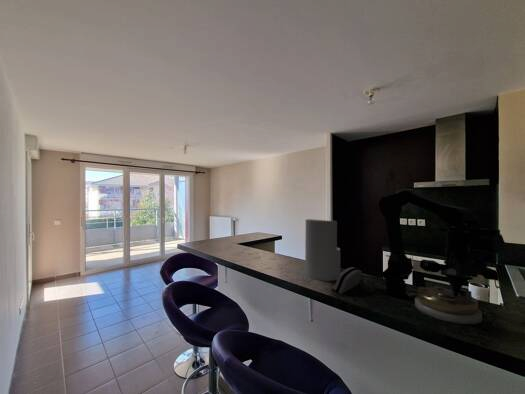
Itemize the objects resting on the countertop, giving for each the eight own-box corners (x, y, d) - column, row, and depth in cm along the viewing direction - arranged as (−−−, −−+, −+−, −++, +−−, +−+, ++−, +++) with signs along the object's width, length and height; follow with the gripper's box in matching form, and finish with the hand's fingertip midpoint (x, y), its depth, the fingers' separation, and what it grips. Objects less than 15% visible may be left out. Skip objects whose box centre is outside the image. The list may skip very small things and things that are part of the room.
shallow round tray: (407, 296, 88) (407, 277, 88) (445, 294, 90) (445, 275, 90) (446, 316, 72) (446, 293, 72) (491, 313, 74) (491, 290, 75)
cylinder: (325, 283, 109) (325, 221, 110) (298, 273, 123) (298, 219, 124) (347, 276, 119) (347, 220, 120) (320, 268, 133) (320, 218, 134)
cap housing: (417, 296, 94) (417, 291, 94) (479, 309, 82) (479, 303, 83) (411, 312, 80) (411, 306, 80) (485, 330, 68) (485, 323, 68)
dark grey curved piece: (348, 281, 111) (355, 262, 109) (357, 287, 108) (364, 268, 106) (329, 290, 99) (337, 269, 97) (339, 297, 96) (347, 275, 94)
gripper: (432, 247, 71) (429, 300, 71) (512, 255, 65) (510, 313, 65) (420, 242, 82) (418, 288, 81) (488, 249, 76) (486, 298, 75)
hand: (455, 296), depth 75 cm, fingers closed
